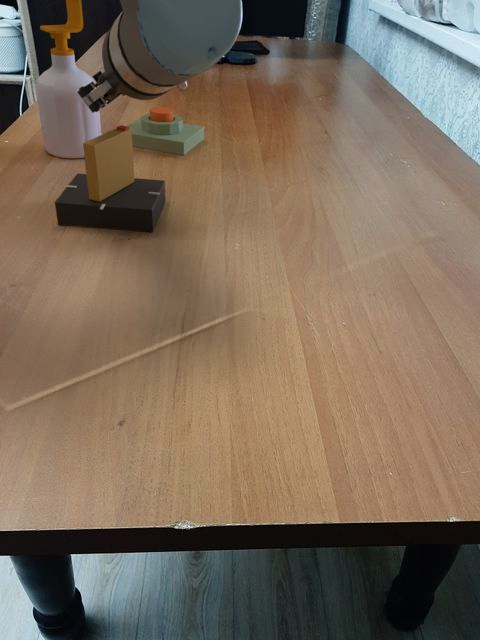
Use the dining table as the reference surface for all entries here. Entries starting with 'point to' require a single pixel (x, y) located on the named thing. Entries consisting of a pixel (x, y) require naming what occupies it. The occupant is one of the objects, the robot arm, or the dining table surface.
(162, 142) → the button box
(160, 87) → the robot arm
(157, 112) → the button
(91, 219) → the black dial base
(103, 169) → the yellow angular block
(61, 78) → the soap bottle
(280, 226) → the dining table surface
